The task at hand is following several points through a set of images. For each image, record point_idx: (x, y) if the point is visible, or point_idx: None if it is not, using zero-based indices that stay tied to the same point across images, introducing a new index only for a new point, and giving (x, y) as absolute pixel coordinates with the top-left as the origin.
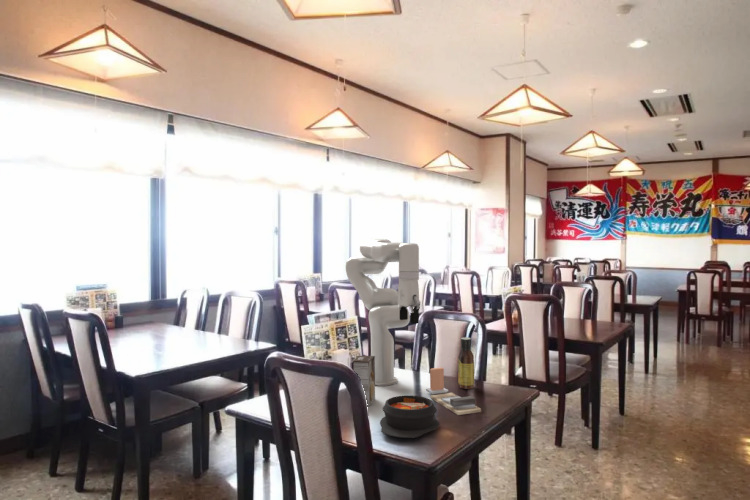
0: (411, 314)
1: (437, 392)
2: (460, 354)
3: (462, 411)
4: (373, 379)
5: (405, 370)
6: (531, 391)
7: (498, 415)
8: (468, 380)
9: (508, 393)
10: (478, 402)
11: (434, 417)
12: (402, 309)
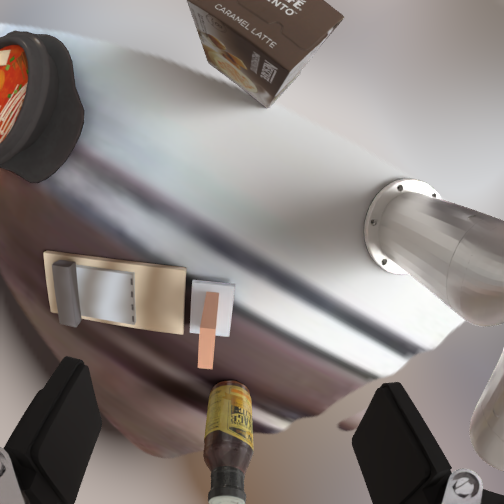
0: (22, 436)
1: (191, 298)
2: (232, 451)
3: (44, 264)
4: (246, 74)
5: (440, 335)
6: (150, 453)
7: (32, 322)
8: (209, 403)
9: (151, 424)
10: (111, 346)
11: (12, 168)
12: (418, 493)
